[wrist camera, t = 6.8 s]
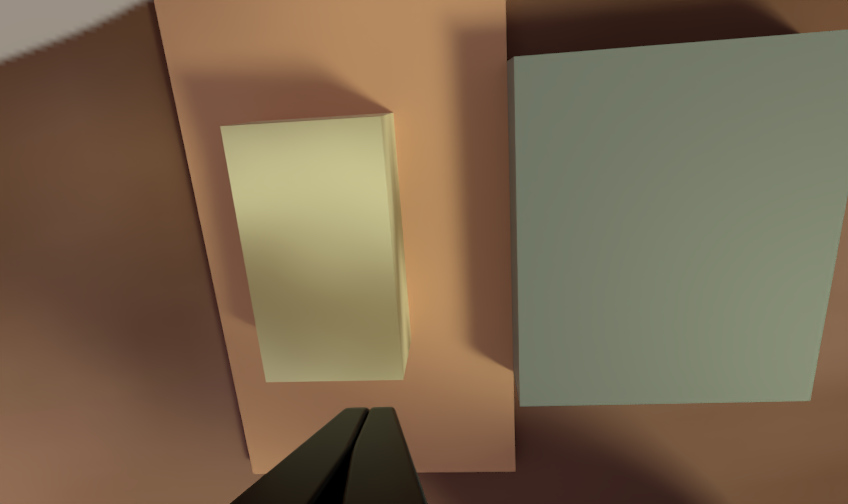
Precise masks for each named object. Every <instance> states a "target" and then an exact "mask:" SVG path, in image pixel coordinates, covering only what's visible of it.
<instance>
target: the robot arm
mask: <svg viewBox="0 0 848 504" xmlns="http://www.w3.org/2000/svg"><path fill="white" fill-rule="evenodd" d="M230 504H428V503H427V501H426V498H425V495H424V492H423V489H422V486H421V483H420V480H419V477H418V474H417V471H416V469H415V466H414V463H413V460H412V457H411V454H410V451H409V448H408V445H407V442H406V439H405V437H404V434H403V431H402V428H401V425H400V422H399V419H398V416H397V413H396V410H395V409H394V408H393V407H373V408H371V409H370V410H369V409H368V408H367V407H354V408H345V409H344V410H342V411H341V412H340V413H339V414H337V415H336V416H335V417H334V418H333V419H331V420H330V421H329V422H328V423H327V424H325V425H324V426H323V427H322V428H321V429H319V430H318V431H317V432H316V433H315V434H313V435H312V436H311V437H310V438H309V439H307V440H306V441H305V442H304V443H302V444H301V445H300V446H299V447H298V448H296V449H295V450H294V451H293V452H292V453H290V454H289V455H288V456H287V457H286V458H284V459H283V460H282V461H281V462H280V463H278V464H277V465H276V466H275V467H274V468H272V469H271V470H270V471H269V472H267V473H266V474H265V475H264V476H263V477H261V478H260V479H259V480H258V481H257V482H255V483H254V484H253V485H252V486H251V487H249V488H248V489H247V490H246V491H245V492H243V493H242V494H241V495H240V496H239V497H237V498H236V499H235V500H234V501H232V502H231V503H230Z"/></svg>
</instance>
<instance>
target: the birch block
mask: <svg viewBox="0 0 848 504" xmlns="http://www.w3.org/2000/svg"><path fill="white" fill-rule="evenodd" d="M220 129H221V134H222V140H223V145H224V151H225V156H226V162H227V168H228V173H229V179H230V184H231V190H232V196H233V201H234V207H235V212H236V218H237V223H238V229H239V235H240V240H241V246H242V251H243V257H244V262H245V268H246V274H247V279H248V285H249V290H250V296H251V302H252V307H253V313H254V318H255V324H256V329H257V335H258V341H259V346H260V352H261V357H262V363H263V369H264V374H265V380H266V382H310V381H368V380H403V379H404V374H405V369H406V364H407V359H408V354H409V349H410V344H411V330H410V317H409V305H408V292H407V279H406V266H405V253H404V241H403V228H402V215H401V202H400V190H399V177H398V164H397V151H396V139H395V126H394V113H378V114H362V115H347V116H331V117H315V118H299V119H284V120H268V121H255V122H248V123H241V124H233V125H226V126H220Z"/></svg>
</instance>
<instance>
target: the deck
mask: <svg viewBox="0 0 848 504" xmlns="http://www.w3.org/2000/svg"><path fill="white" fill-rule="evenodd" d="M507 89H508V137H509V185H510V233H511V280H512V328H513V372H514V378H515V383H516V388H517V394H518V399H519V404H520V407H521V406H572V405H624V404H675V403H727V402H778V401H810V399H811V394H812V388H813V383H814V377H815V372H816V366H817V361H818V355H819V350H820V344H821V339H822V333H823V328H824V322H825V317H826V311H827V306H828V300H829V295H830V289H831V284H832V278H833V273H834V267H835V262H836V256H837V251H838V245H839V240H840V234H841V229H842V223H843V218H844V212H845V207H846V201H847V196H848V30H838V31H826V32H813V33H801V34H788V35H776V36H764V37H751V38H739V39H726V40H714V41H702V42H689V43H677V44H664V45H652V46H640V47H627V48H615V49H602V50H590V51H578V52H565V53H553V54H540V55H528V56H516V57H513V58H511V59H510V60H508V61H507Z"/></svg>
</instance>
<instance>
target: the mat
mask: <svg viewBox="0 0 848 504" xmlns="http://www.w3.org/2000/svg"><path fill="white" fill-rule="evenodd" d="M154 4H155V9H156V13H157V18H158V23H159V28H160V32H161V37H162V42H163V47H164V52H165V56H166V61H167V66H168V71H169V75H170V80H171V85H172V90H173V94H174V99H175V104H176V109H177V113H178V118H179V123H180V128H181V132H182V137H183V142H184V147H185V151H186V156H187V161H188V166H189V171H190V175H191V180H192V185H193V190H194V194H195V199H196V204H197V209H198V213H199V218H200V223H201V228H202V232H203V237H204V242H205V247H206V251H207V256H208V261H209V266H210V270H211V275H212V280H213V285H214V290H215V294H216V299H217V304H218V309H219V313H220V318H221V323H222V328H223V332H224V337H225V342H226V347H227V351H228V356H229V361H230V366H231V370H232V375H233V380H234V385H235V389H236V394H237V399H238V404H239V409H240V413H241V418H242V423H243V428H244V432H245V437H246V442H247V447H248V451H249V456H250V461H251V466H252V470H253V474H266V473H267V472H269V471H270V470H271V469H272V468H274V467H275V466H276V465H277V464H278V463H280V462H281V461H282V460H283V459H284V458H286V457H287V456H288V455H289V454H290V453H292V452H293V451H294V450H295V449H296V448H298V447H299V446H300V445H301V444H302V443H304V442H305V441H306V440H307V439H309V438H310V437H311V436H312V435H313V434H315V433H316V432H317V431H318V430H319V429H321V428H322V427H323V426H324V425H325V424H327V423H328V422H329V421H330V420H331V419H333V418H334V417H335V416H336V415H337V414H339V413H340V412H341V411H342V410H344V409H345V408H354V407H367V408H368V409H369V410H370V409H371V408H373V407H393V408H394V409H395V410H396V413H397V416H398V419H399V422H400V425H401V428H402V431H403V434H404V437H405V439H406V442H407V445H408V448H409V451H410V454H411V457H412V460H413V463H414V466H415V469H416V471H417V472H515V424H514V376H513V328H512V280H511V233H510V185H509V137H508V89H507V41H506V0H154ZM378 113H394V126H395V139H396V151H397V164H398V177H399V190H400V202H401V215H402V228H403V241H404V253H405V266H406V279H407V292H408V305H409V317H410V330H411V344H410V349H409V354H408V359H407V364H406V369H405V374H404V379H403V380H368V381H310V382H266V380H265V374H264V369H263V363H262V357H261V352H260V346H259V341H258V335H257V329H256V324H255V318H254V313H253V307H252V302H251V296H250V290H249V285H248V279H247V274H246V268H245V262H244V257H243V251H242V246H241V240H240V235H239V229H238V223H237V218H236V212H235V207H234V201H233V196H232V190H231V184H230V179H229V173H228V168H227V162H226V156H225V151H224V145H223V140H222V134H221V129H220V126H226V125H233V124H241V123H248V122H255V121H268V120H284V119H299V118H315V117H331V116H347V115H362V114H378Z"/></svg>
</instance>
